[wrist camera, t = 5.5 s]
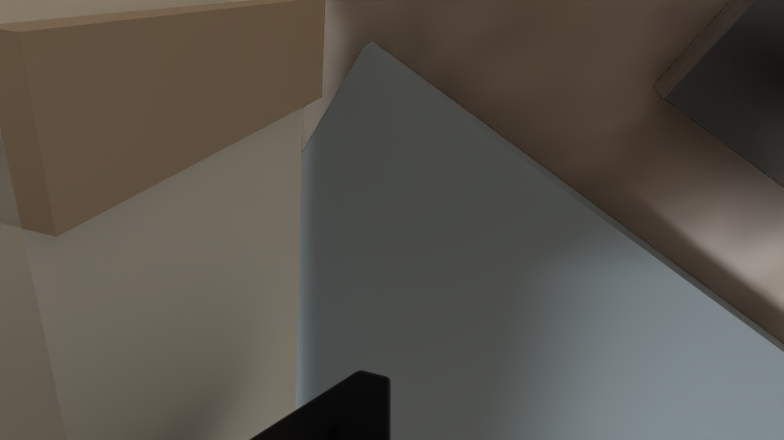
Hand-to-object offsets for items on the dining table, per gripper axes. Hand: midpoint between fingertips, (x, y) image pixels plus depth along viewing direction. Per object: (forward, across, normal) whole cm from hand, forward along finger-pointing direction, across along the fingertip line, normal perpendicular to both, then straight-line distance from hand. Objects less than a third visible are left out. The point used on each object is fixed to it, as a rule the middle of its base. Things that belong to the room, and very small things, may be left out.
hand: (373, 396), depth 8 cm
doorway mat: (+3, -1, +2) cm, 4 cm away
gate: (+2, +3, +2) cm, 4 cm away
